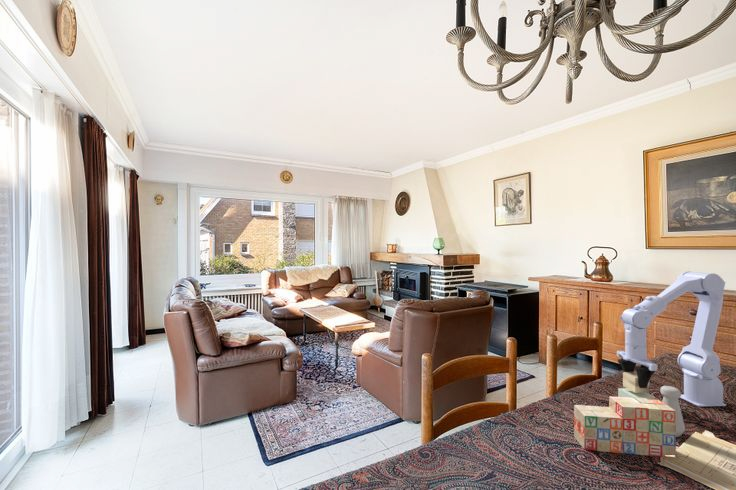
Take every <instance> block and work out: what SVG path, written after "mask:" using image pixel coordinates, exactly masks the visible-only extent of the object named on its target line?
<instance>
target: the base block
mask: <svg viewBox="0 0 736 490" xmlns="http://www.w3.org/2000/svg"><path fill="white" fill-rule="evenodd" d="M617 393H618V394H617V397H630V398H646V399H655V400H656V397H655V396H654V395H652V394H650V393H649V392H641V393H635V392H633V391H631V390H629V389H627V388H625V387H621V388H619V387H618V388H617Z"/></svg>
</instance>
